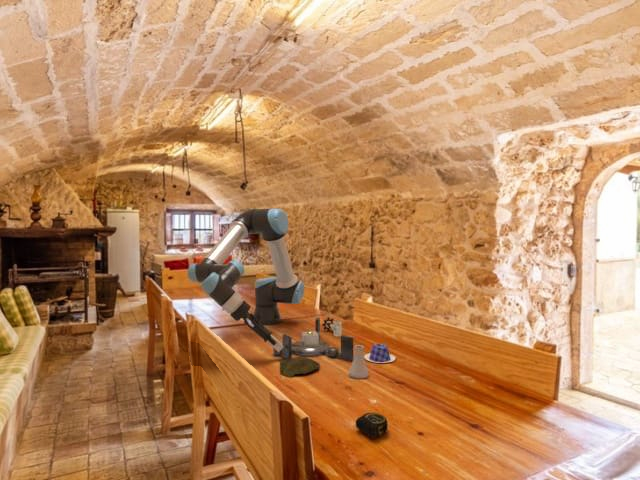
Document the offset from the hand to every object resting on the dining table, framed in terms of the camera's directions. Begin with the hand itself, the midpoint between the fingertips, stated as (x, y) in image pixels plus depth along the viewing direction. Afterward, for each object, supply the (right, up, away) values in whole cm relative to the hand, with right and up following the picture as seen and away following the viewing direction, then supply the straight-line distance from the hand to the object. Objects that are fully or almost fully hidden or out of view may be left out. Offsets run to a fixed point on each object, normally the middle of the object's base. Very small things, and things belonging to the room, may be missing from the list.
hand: (281, 348), depth 154 cm
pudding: (+38, -4, +1) cm, 38 cm away
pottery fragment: (+7, -5, -10) cm, 13 cm away
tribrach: (+12, -3, +13) cm, 18 cm away
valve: (+21, -3, +36) cm, 42 cm away
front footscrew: (+1, -4, +3) cm, 5 cm away
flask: (+28, -5, -16) cm, 33 cm away
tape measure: (+28, -6, -54) cm, 62 cm away
